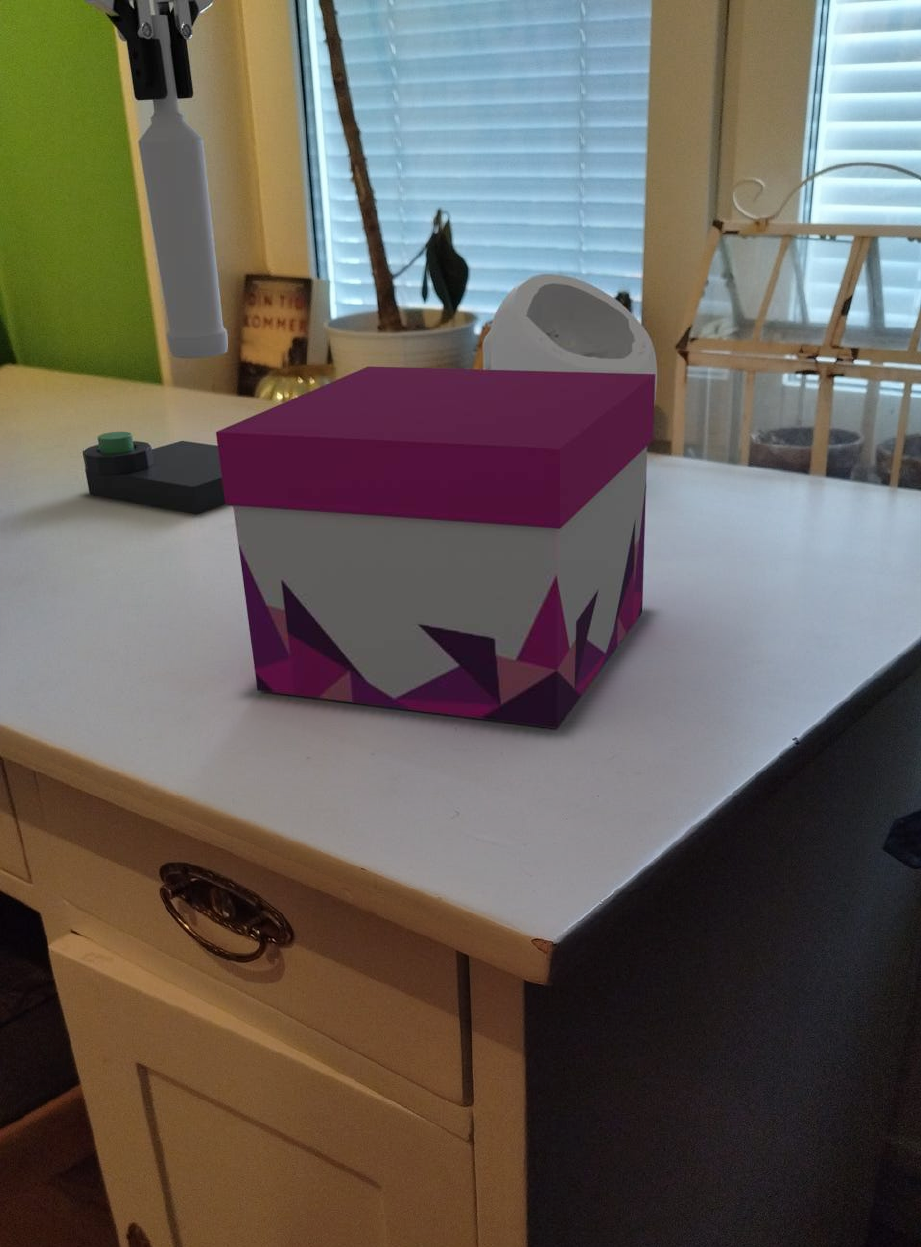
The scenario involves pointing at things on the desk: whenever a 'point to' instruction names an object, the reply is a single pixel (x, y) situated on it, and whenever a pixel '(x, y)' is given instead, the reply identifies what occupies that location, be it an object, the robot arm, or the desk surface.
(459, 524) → the decorative box
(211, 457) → the black push button box
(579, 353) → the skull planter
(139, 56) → the robot arm
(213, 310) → the bottle
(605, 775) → the desk surface
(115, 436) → the button
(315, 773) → the desk surface
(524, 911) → the desk surface
